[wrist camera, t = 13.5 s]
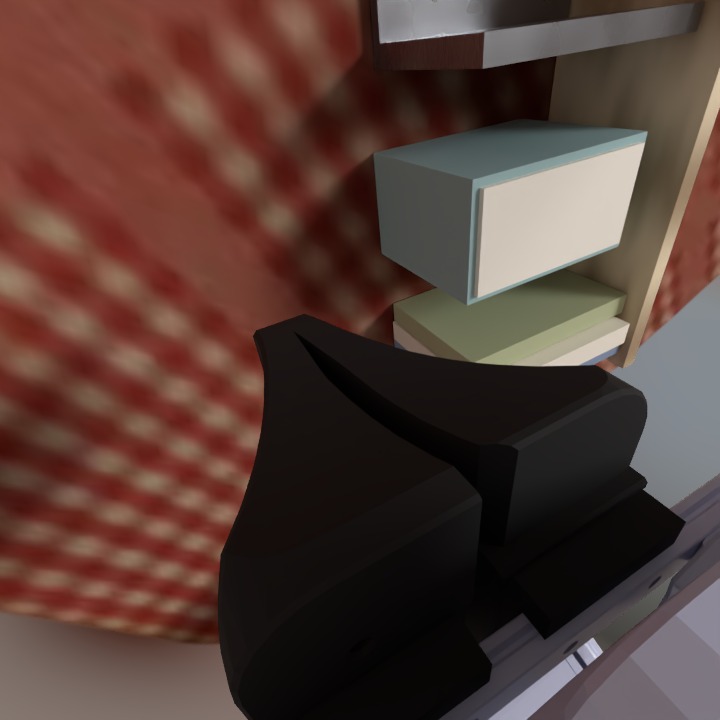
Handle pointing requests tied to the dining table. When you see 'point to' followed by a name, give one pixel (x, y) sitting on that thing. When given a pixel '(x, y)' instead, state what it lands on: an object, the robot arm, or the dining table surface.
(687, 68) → the shelf wall
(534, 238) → the boxed book
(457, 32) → the bookend
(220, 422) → the dining table surface
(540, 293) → the book row
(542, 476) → the robot arm
